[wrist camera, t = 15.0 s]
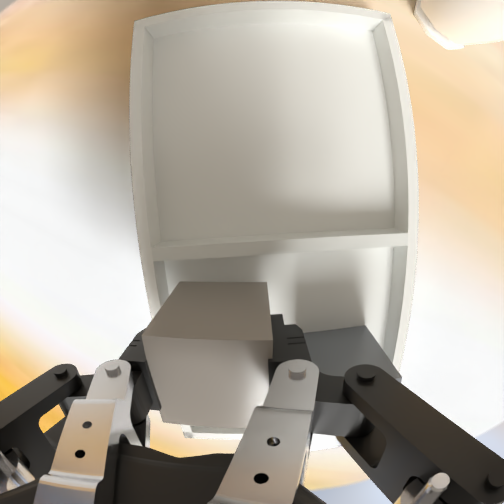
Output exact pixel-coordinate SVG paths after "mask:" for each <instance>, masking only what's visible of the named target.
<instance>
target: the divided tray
mask: <svg viewBox="0 0 504 504" xmlns="http://www.w3.org/2000/svg"><path fill="white" fill-rule="evenodd" d="M129 123H130V156H131V173H132V187H133V199H134V209H135V218H136V227H137V235H138V243H139V250H140V257H141V263H142V269H143V275H144V281H145V287H146V292H147V298H148V303H149V308H150V313H151V318H152V319H153V318H154V317H155V315H156V314H157V312H158V311H159V309H160V308H161V307H162V305H163V304H164V302H165V301H166V300H167V298H168V297H169V295H170V294H171V293H172V291H173V290H174V288H175V287H176V286H177V284H178V283H179V282H180V281H187V282H267V287H268V296H269V306H270V315H271V314H282V315H283V320H284V325H290V324H296V325H297V326H298V327H300V328H301V329H302V330H303V333H307V332H316V331H325V330H333V329H341V328H348V327H356V326H363V325H366V327H367V328H368V330H369V331H370V332H371V334H372V335H373V336H374V338H375V339H376V341H377V342H378V344H379V345H380V346H381V348H382V349H383V351H384V352H385V353H386V355H387V356H388V358H389V359H390V361H391V362H392V364H393V365H394V366H395V368H396V369H397V371H398V372H399V371H400V366H401V362H402V358H403V353H404V348H405V343H406V338H407V332H408V327H409V321H410V314H411V307H412V300H413V292H414V284H415V274H416V262H417V248H418V223H419V189H418V165H417V151H416V139H415V130H414V121H413V114H412V107H411V100H410V94H409V88H408V83H407V78H406V73H405V68H404V63H403V59H402V55H401V51H400V47H399V43H398V39H397V35H396V32H395V28H394V25H393V22H392V18H391V15H390V13H385V12H381V11H376V10H371V9H365V8H359V7H353V6H346V5H339V4H330V3H319V2H304V1H250V2H235V3H224V4H215V5H208V6H201V7H194V8H188V9H183V10H178V11H173V12H168V13H164V14H159V15H155V16H151V17H147V18H144V19H140V20H136V21H134V29H133V40H132V52H131V69H130V100H129ZM180 425H181V428H182V431H183V433H184V436H185V438H200V439H242V436H243V434H244V432H245V428H217V427H203V426H191V425H182V424H180Z"/></svg>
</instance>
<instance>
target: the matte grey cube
mask: <svg viewBox="0 0 504 504" xmlns="http://www.w3.org/2000/svg"><path fill="white" fill-rule="evenodd" d="M303 334H304V338H305V340H306V344H307V347H308V351H309V354H310V357H311V361H312V363H314V364H315V365H316V366H317V367H318V369H319V372H321V373H323V374H326V375H331V376H342V377H344V375H345V373H346V371H347V370H348V369H350V368H351V367H353V366H356V365H362V364H369V365H374V366H377V367H379V368H381V369H383V370H384V371H385V372H387V373H388V374H389V375H391V376H392V377H393V378H395V379H396V380H397V381H398V382H400V383H401V379H402V377H401V375H400V374H399V372H398V371H397V369H396V368H395V366H394V365H393V364H392V362H391V361H390V359H389V358H388V356H387V355H386V353H385V352H384V351H383V349H382V348H381V346H380V345H379V344H378V342H377V341H376V339H375V338H374V336H373V335H372V334H371V332H370V331H369V330H368V328H367V327H366V325H363V326H356V327H348V328H341V329H333V330H325V331H316V332H307V333H303ZM340 446H342V445H341V444H340V443H339V441H338V440H337V439H336V436H332V435H322V434H313V438H312V443H311V449H310V451H314V450H321V449H328V448H334V447H340Z"/></svg>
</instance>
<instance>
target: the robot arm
mask: <svg viewBox="0 0 504 504" xmlns="http://www.w3.org/2000/svg"><path fill="white" fill-rule="evenodd" d="M271 325H272V335H273V355H272V359H268V372H269V390H268V393H267V395H266V398H265V401H264V403H263V406H256V407H255V409H254V411H253V413H252V415H251V418H250V420H249V422H248V425H247V427H246V429H245V432H244V434H243V436H242V439H241V441H240V443H239V445H238V448H237V450H236V452H235V454H219V453H216V454H209V455H202V456H193V457H184V458H177V457H173V456H170V455H168V454H165V453H162V452H159V451H156V450H153V449H151V448H150V418H149V416H148V412H149V410H161V408H162V406H161V403H160V400H159V397H158V394H157V391H156V388H155V385H154V382H153V379H152V376H151V373H150V369H149V366H148V363H147V359H146V355H145V351H144V346H143V341H142V336H141V335H142V334H143V332H144V331H145V329H146V328H145V329H144V330H142V331H141V332H139V333H138V334H137V335H136V336H135V337H134V339H133V341H132V342H131V343H130V344H129V346H128V347H127V348H126V350H125V351H124V352H123V354H122V355H121V357H120V358H119V359H118V360H110V361H107V362H104V363H103V364H101V365H100V366H99V367H98V368H97V369H96V371H95V374H94V375H82V376H80V375H79V373H78V370H77V368H76V367H75V366H74V365H72V364H61V365H58V366H55V367H53V368H52V369H50V370H48V371H47V372H45V373H44V374H42V375H41V376H39V377H38V378H36V379H34V380H33V381H31V382H30V383H28V384H27V385H25V386H24V387H22V388H20V389H19V390H17V391H16V392H14V393H13V394H11V395H10V396H8V397H7V398H5V399H4V400H2V401H0V504H326V503H325V502H324V501H322V500H321V499H320V498H318V497H317V496H316V495H314V494H313V493H312V492H310V491H309V490H308V489H307V488H305V487H304V481H305V475H306V470H307V464H308V459H309V454H310V449H311V443H312V438H313V434H322V435H332V436H336V439H337V440H338V441H339V443H340V444H341V445H342V446H343V447H344V449H345V450H346V451H347V452H348V453H349V455H350V456H351V457H352V458H353V459H354V460H355V462H356V463H357V464H358V465H359V466H360V467H361V469H362V470H363V471H364V472H365V473H366V474H367V475H368V477H369V478H370V479H371V480H372V481H373V482H374V483H375V485H377V487H378V488H379V489H380V490H381V491H382V492H383V493H384V494H385V495H386V497H387V498H388V499H389V500H390V501H391V502H392V503H393V504H502V503H503V502H504V459H503V458H501V457H500V456H499V455H497V454H496V453H494V452H493V451H492V450H490V449H489V448H487V447H486V446H485V445H483V444H482V443H480V442H479V441H478V440H476V439H475V438H474V437H472V436H471V435H470V434H468V433H467V432H466V431H464V430H463V429H461V428H460V427H459V426H457V425H456V424H455V423H453V422H452V421H451V420H449V419H448V418H447V417H445V416H444V415H443V414H441V413H440V412H438V411H437V410H436V409H434V408H433V407H432V406H430V405H429V404H428V403H426V402H425V401H424V400H422V399H421V398H420V397H418V396H417V395H416V394H414V393H413V392H412V391H410V390H409V389H408V388H406V387H405V386H404V385H402V384H401V383H400V382H398V381H397V380H396V379H395V378H393V377H392V376H391V375H389V374H388V373H387V372H385V371H384V370H383V369H381V368H379V367H377V366H374V365H369V364H362V365H356V366H353V367H351V368H350V369H348V370H347V371H346V373H345V375H344V377H342V376H331V375H326V374H323V373H321V372H319V369H318V367H317V366H316V365H315V364H314V363H312V361H311V357H310V354H309V351H308V347H307V344H306V340H305V338H304V334H303V330H302V329H301V328H300V327H298V326H297V325H296V324H290V325H284V320H283V315H282V314H271ZM58 404H59V405H60V407H61V409H62V411H63V413H64V415H65V416H66V417H64V418H63V419H62V420H60V421H59V422H58V423H57V424H55V425H54V426H53V427H51V428H50V429H49V430H48V431H46V432H45V433H43V432H42V431H41V429H40V427H39V419H40V418H41V417H42V416H43V415H44V414H45V413H47V412H48V411H50V410H51V409H52V408H54V407H55V406H56V405H58ZM12 448H13V449H12Z"/></svg>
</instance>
